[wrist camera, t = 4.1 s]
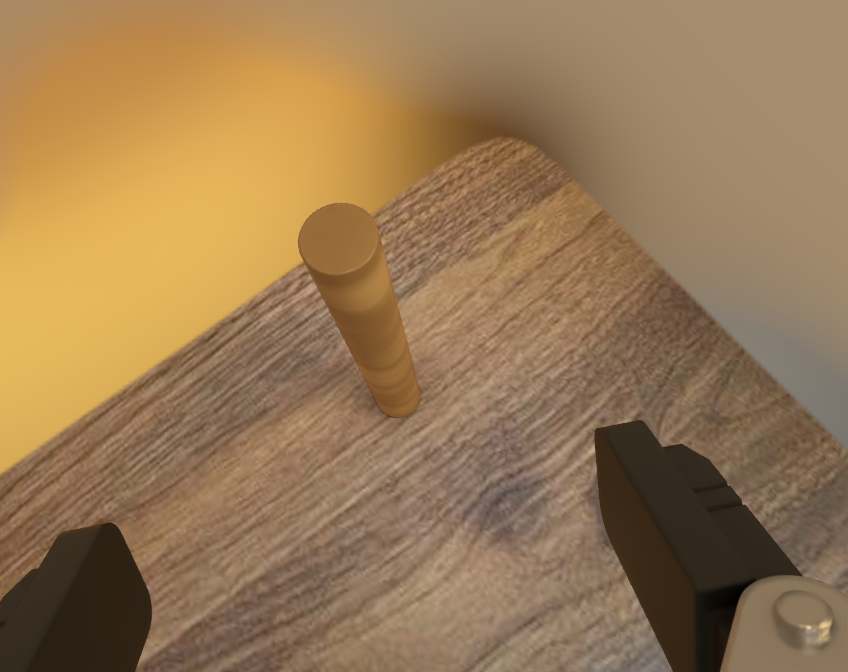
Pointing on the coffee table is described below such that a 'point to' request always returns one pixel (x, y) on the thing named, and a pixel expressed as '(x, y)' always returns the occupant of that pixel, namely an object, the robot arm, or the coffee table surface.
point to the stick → (362, 300)
